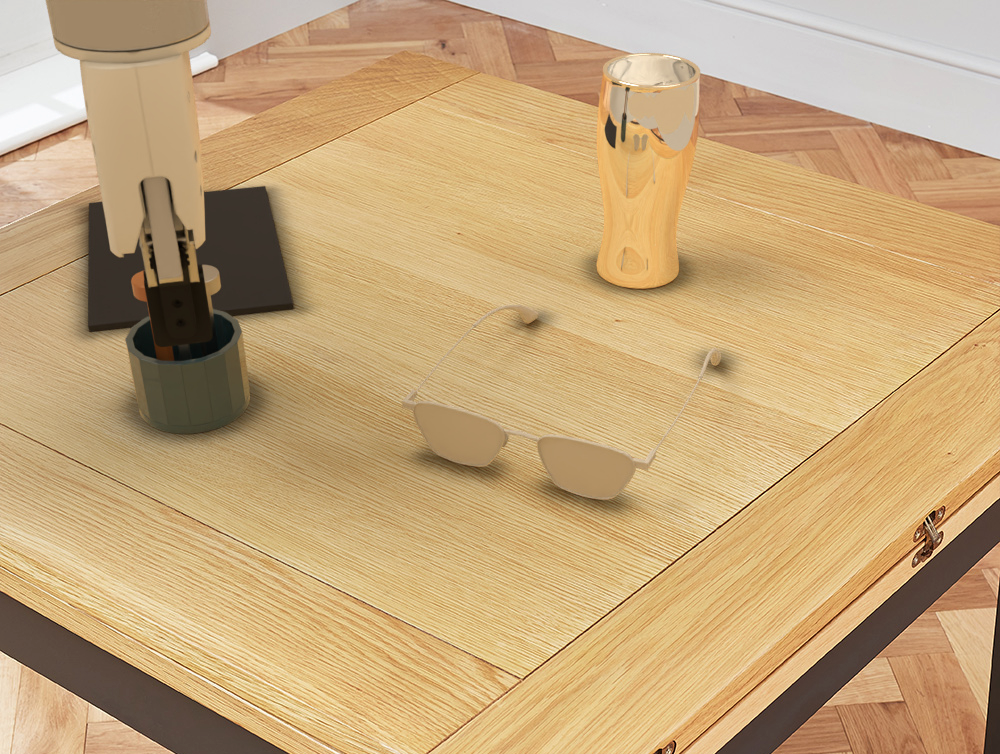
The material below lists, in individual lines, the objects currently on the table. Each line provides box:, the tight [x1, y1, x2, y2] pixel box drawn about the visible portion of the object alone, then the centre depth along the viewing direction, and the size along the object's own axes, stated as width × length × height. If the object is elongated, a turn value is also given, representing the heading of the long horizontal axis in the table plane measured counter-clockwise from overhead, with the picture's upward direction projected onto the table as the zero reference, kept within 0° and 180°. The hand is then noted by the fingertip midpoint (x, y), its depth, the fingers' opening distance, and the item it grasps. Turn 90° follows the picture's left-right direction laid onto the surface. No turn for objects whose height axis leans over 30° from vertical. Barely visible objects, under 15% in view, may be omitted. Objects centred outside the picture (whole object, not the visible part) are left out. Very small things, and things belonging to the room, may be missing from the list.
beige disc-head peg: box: [201, 265, 221, 357], centre depth 83 cm, size 2×2×8 cm
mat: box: [87, 185, 295, 333], centre depth 101 cm, size 20×14×1 cm
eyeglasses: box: [401, 304, 722, 501], centre depth 84 cm, size 15×18×4 cm
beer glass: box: [596, 52, 701, 290], centre depth 95 cm, size 7×7×15 cm
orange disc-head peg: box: [131, 270, 174, 361], centre depth 83 cm, size 2×2×8 cm
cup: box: [124, 309, 251, 435], centre depth 84 cm, size 7×7×5 cm
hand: (184, 336), depth 76 cm, fingers closed
